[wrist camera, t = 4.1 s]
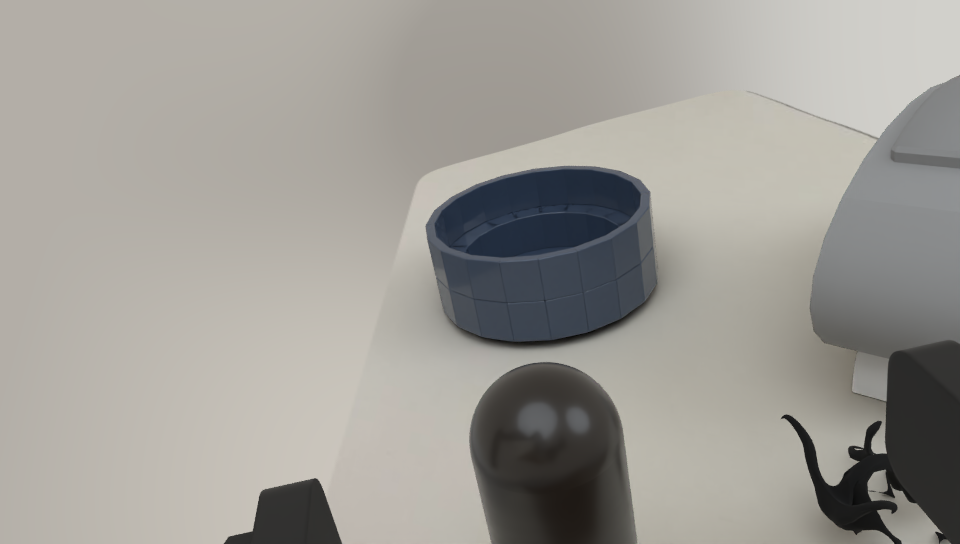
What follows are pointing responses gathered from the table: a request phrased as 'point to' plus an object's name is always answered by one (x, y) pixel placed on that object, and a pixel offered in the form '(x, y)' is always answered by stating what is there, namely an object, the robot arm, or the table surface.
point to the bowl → (544, 252)
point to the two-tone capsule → (551, 459)
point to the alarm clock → (896, 243)
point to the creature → (854, 486)
